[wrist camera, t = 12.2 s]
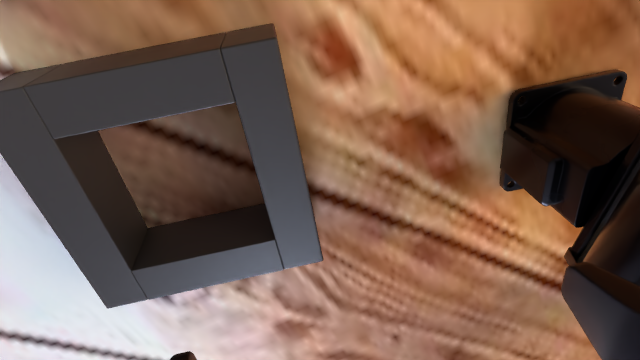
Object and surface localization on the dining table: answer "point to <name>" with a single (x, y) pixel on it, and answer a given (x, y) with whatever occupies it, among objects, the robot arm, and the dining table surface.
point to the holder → (109, 189)
